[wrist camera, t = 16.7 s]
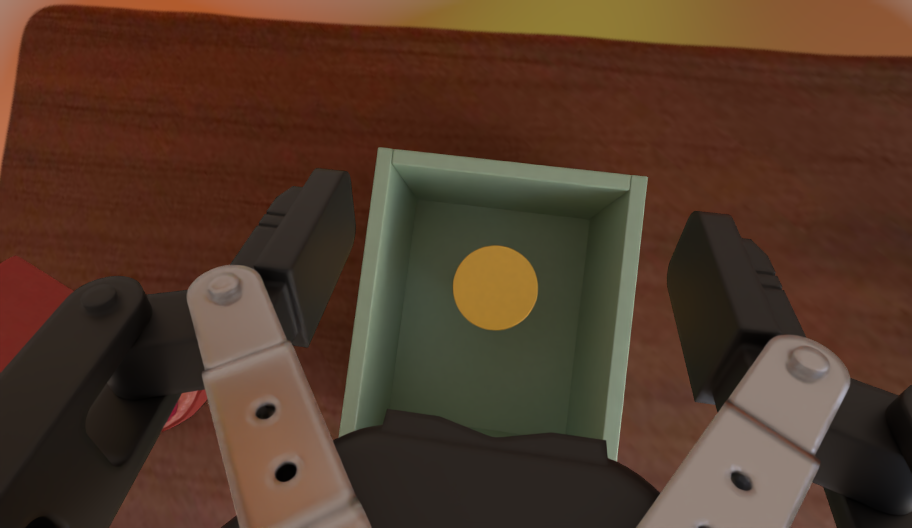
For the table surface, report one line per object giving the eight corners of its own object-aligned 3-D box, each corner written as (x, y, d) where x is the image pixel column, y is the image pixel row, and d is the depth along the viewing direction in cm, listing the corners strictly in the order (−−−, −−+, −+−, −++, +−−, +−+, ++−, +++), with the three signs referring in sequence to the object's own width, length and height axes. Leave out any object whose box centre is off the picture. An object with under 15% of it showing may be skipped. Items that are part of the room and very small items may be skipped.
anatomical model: (36, 410, 37) (-160, 367, 23) (116, 317, 40) (-15, 233, 27) (160, 484, 36) (33, 485, 23) (232, 384, 40) (158, 332, 26)
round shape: (494, 244, 36) (497, 227, 27) (538, 291, 36) (556, 290, 27) (447, 287, 36) (434, 285, 27) (491, 335, 36) (493, 348, 27)
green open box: (409, 189, 37) (377, 146, 27) (600, 211, 36) (648, 176, 26) (378, 422, 36) (332, 475, 26) (573, 450, 36) (610, 518, 25)
